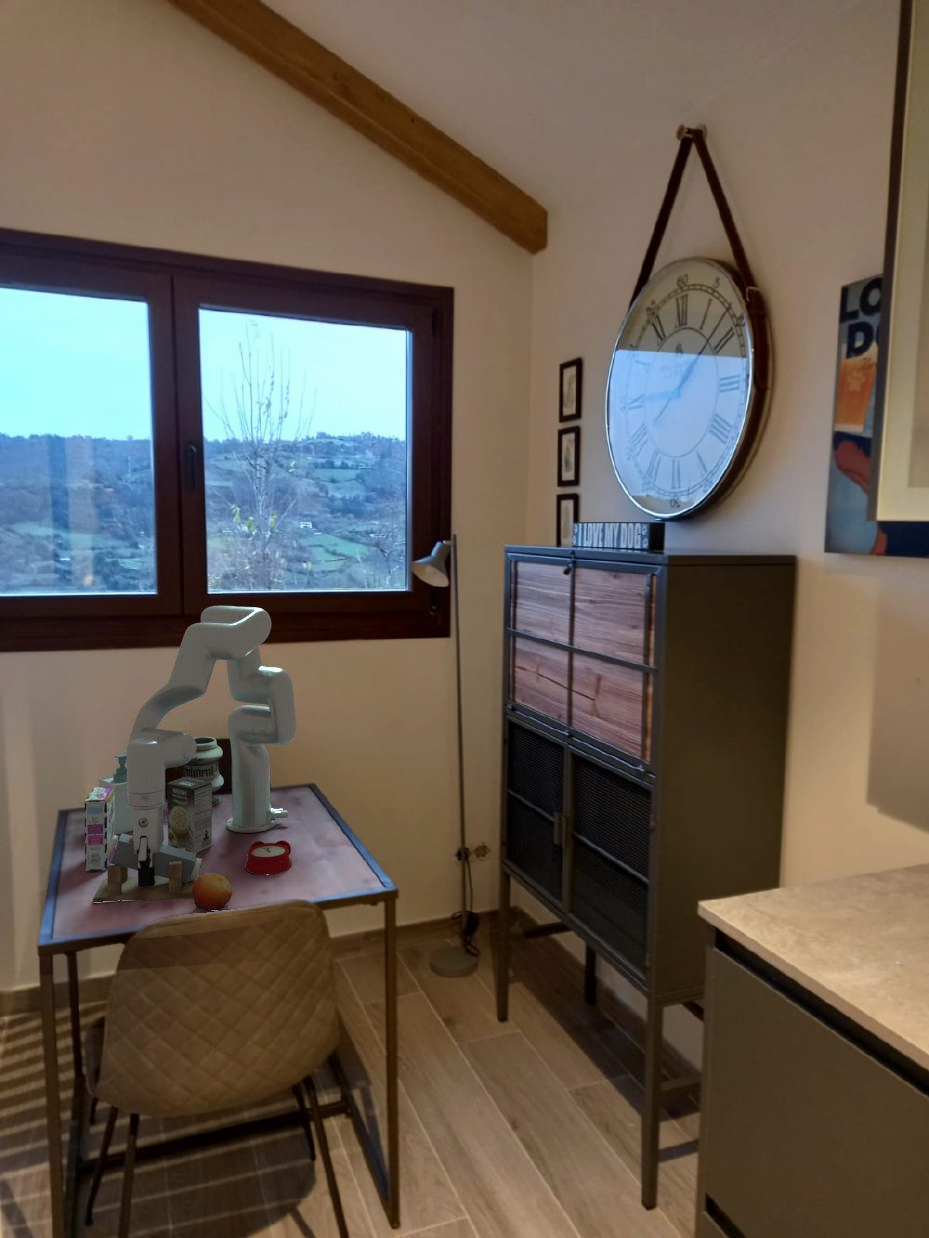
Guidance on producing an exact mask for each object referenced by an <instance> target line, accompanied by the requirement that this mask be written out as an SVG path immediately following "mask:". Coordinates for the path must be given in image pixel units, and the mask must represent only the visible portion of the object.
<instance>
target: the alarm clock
mask: <svg viewBox="0 0 929 1238" xmlns="http://www.w3.org/2000/svg"><path fill="white" fill-rule="evenodd" d="M291 853H292V847H291V844H290V843H289V842H288V841H287V840H278V841H277V842H264V841H261V840H257V841H255V842H253V843H252V844H251V845H250V846H249V849H248V850H247V860H246V862H245V864H244V869H245V870H246V872H249V873H251V874H255V875H264V876H265V875H266V874H269V875H275V874H279V873H284V872H285V871H286V870H289V869H290V868H291V867H292V866H293V865H292V864H293V863H292V860H291V858H290V855H291Z"/></svg>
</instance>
